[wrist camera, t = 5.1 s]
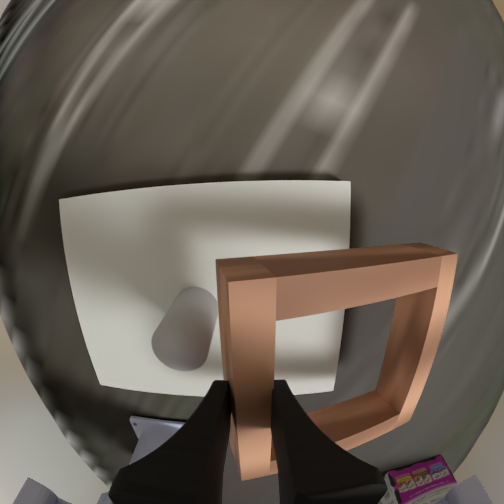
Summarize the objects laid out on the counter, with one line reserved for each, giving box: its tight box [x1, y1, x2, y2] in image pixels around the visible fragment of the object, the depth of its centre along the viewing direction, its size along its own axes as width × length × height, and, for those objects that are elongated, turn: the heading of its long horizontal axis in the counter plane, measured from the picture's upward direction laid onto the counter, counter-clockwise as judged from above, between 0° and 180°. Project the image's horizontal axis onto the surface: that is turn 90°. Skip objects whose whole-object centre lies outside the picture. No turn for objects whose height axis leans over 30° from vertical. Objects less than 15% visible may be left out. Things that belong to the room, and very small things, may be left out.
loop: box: [215, 243, 458, 481], centre depth 13 cm, size 12×12×3 cm
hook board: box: [59, 180, 351, 396], centre depth 16 cm, size 16×20×6 cm
